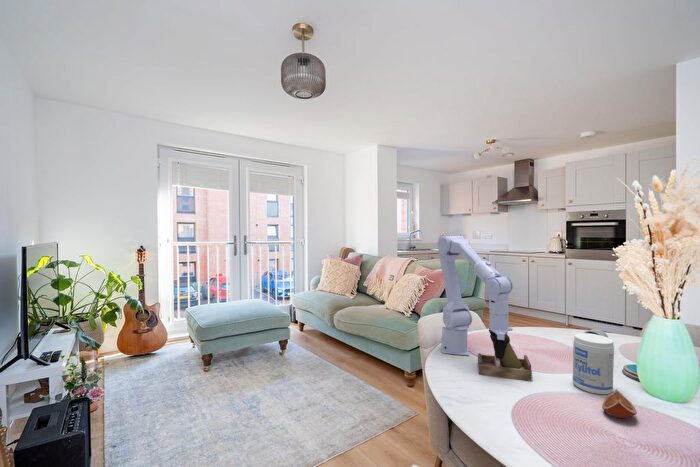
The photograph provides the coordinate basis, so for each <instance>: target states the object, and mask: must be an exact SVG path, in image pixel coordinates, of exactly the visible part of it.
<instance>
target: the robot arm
mask: <svg viewBox="0 0 700 467" xmlns="http://www.w3.org/2000/svg"><path fill="white" fill-rule="evenodd" d="M436 244H437V250H438V254H439V255H438V256H439V263H440V268H441V272H442V278H443V285H444V288H445V289H444V290H445V296H446V300H447V301H446V302H447V303H446V304H445V306H444V307H443V308H442V313H443V314H442V322H443V324H444V326H442V328H441V353H442V354H447V355H448V354H450V355H458V356H459V355H460V356H469V355H470V354H469V353H470V352H469V350H470V349H469V347H468V342H469V341H468V337H469V336H468V329H470V326H471V325H472V322H473V315H472V314H471V313H472V312H470V311H471V310H470V308H469V305H468V304H466V303H465V302H463V298H462V294H461V293H462V292H461V288H460V282H459V276H458V272H457V266H456V259H457V258H459V257H460V255H462V257H463V258H464V259H465V260H467V261H468V262H469V263H470V264H471V265H472V266H473V272H474V273H475V275H477V277H479V279H480V280H481V281H482V282H483V284H484V289H485V290H486V292H487V298H488V301H489V304H488V306H489V308H488V312H489V313H488V314H489V318H488V319H489V320H488V321H489V323H488V324H489V325H488V332H489V334H490V335H489V338H490V340H491V342H492V345H493V350H494V356H495V355H496V358H500V359H503V358H504V354H505V349H506V346H507V344H508V342H509V341H510V342H511V339H510V337H509V338H507V337H505V334H507V335H508V333H509V332H512V331H513V327H511V326H509V294H510V293H512V290H513V287H514V286H513V282H512V280H511V279H510V278H509V276H506V275H502V274H501V273H500V272H499V271H497V270H496V268H495V267H494V266H493V265H492V262H490V261H489V260H482V258H481V257H480V256H479V255H478V254H477V252H476V251H475V250H474V249H473V247H472V246H471V245H470V240H469V239H467V237H466V236H465V235H461V234H460V235H441V237H440V238H439V240H438V241H437V243H436ZM496 334H497V336H496Z"/></svg>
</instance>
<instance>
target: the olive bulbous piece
mask: <svg viewBox="0 0 700 467" xmlns="http://www.w3.org/2000/svg"><path fill="white" fill-rule="evenodd" d="M496 336H497V334H496ZM505 337H507V338H510V336H509V335H508V333H507V334H505ZM510 342H511V340H510V341H509V342H508V344H507V346H506V349H505V354H504V358H503V359H500V360H501V364H502V367H507V368H515V369H520V368H521V367H522V364H521V363H520V361H519V359H520V358H519V359H518V356H517V354H516V352H515V350H514V348H513V347H512V345H511V343H510Z"/></svg>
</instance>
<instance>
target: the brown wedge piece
mask: <svg viewBox="0 0 700 467" xmlns="http://www.w3.org/2000/svg"><path fill="white" fill-rule="evenodd" d="M601 408H602V410H604V411H605V412H606V414H608V415H610V416H612V417H614V418H620V419H624V418H631V417H633V416H636V415H637V414H638V412H637V410H636V407H635V405H634V404H633V403H632V402H631V401H630V400H629V399H628V398H627V397H626V396H625V395H623V394H622V393H621V392H620V391H619V390H618V389H616V390H614V391H612V392H611V393H609V394H607V396H606V397H605V399H604V401H603V403H602V406H601Z"/></svg>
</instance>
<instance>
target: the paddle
mask: <svg viewBox="0 0 700 467" xmlns="http://www.w3.org/2000/svg"><path fill="white" fill-rule="evenodd" d="M494 356H495V366H498V367H500V360H499V358H496V355H495V354H494Z"/></svg>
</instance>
